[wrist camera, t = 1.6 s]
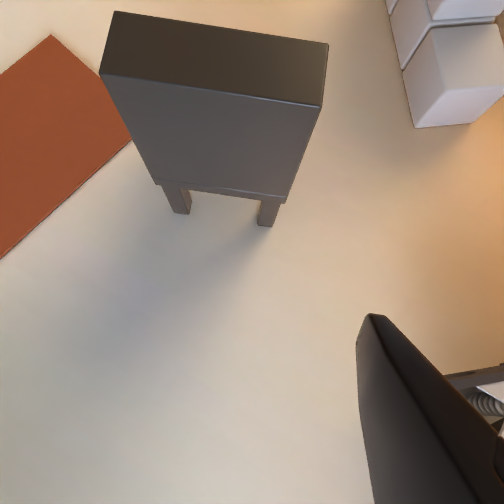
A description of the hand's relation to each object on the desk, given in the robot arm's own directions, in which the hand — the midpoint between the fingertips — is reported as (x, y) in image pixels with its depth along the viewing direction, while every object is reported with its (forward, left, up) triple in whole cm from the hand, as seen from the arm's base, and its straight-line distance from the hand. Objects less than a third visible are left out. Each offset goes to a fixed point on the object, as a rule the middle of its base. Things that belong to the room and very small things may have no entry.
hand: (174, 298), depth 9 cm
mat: (+10, +11, -13) cm, 19 cm away
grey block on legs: (+8, -1, -13) cm, 15 cm away
